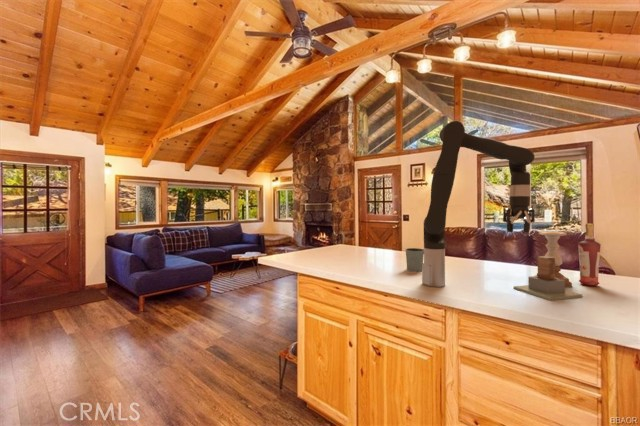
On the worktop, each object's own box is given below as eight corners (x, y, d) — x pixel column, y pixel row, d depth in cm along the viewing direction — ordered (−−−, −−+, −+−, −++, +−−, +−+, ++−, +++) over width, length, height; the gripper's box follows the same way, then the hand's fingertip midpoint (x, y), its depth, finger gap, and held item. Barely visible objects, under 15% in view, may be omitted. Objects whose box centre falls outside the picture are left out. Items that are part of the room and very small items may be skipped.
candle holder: (560, 280, 137) (561, 231, 136) (572, 287, 127) (573, 233, 126) (533, 279, 141) (534, 231, 140) (543, 285, 130) (543, 233, 130)
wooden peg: (546, 292, 117) (547, 258, 117) (537, 289, 121) (537, 256, 120) (554, 291, 118) (554, 257, 117) (545, 288, 122) (545, 256, 121)
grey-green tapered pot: (416, 267, 170) (416, 247, 170) (428, 271, 161) (427, 250, 160) (402, 269, 167) (401, 248, 167) (412, 272, 157) (412, 251, 157)
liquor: (604, 287, 125) (604, 224, 124) (582, 286, 127) (583, 224, 126) (594, 283, 132) (595, 223, 131) (574, 282, 134) (575, 223, 133)
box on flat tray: (549, 300, 110) (550, 285, 110) (513, 288, 125) (513, 275, 125) (582, 296, 113) (582, 282, 113) (542, 286, 129) (543, 272, 129)
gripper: (513, 195, 121) (512, 233, 121) (541, 195, 123) (539, 232, 124) (499, 195, 128) (497, 231, 129) (525, 196, 131) (524, 231, 131)
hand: (518, 232), depth 126 cm, fingers open, 8 cm apart
